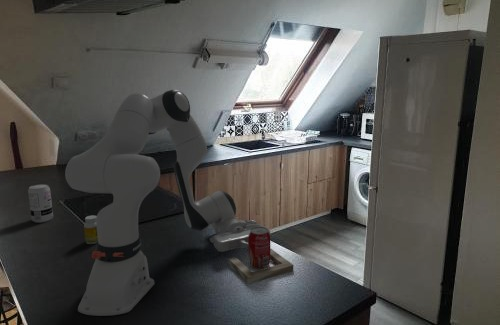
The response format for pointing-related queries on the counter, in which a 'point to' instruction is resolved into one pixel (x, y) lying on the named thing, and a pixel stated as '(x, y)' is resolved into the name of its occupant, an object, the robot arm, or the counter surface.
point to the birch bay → (250, 277)
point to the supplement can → (40, 203)
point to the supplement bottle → (90, 230)
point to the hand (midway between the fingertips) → (253, 246)
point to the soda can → (259, 247)
